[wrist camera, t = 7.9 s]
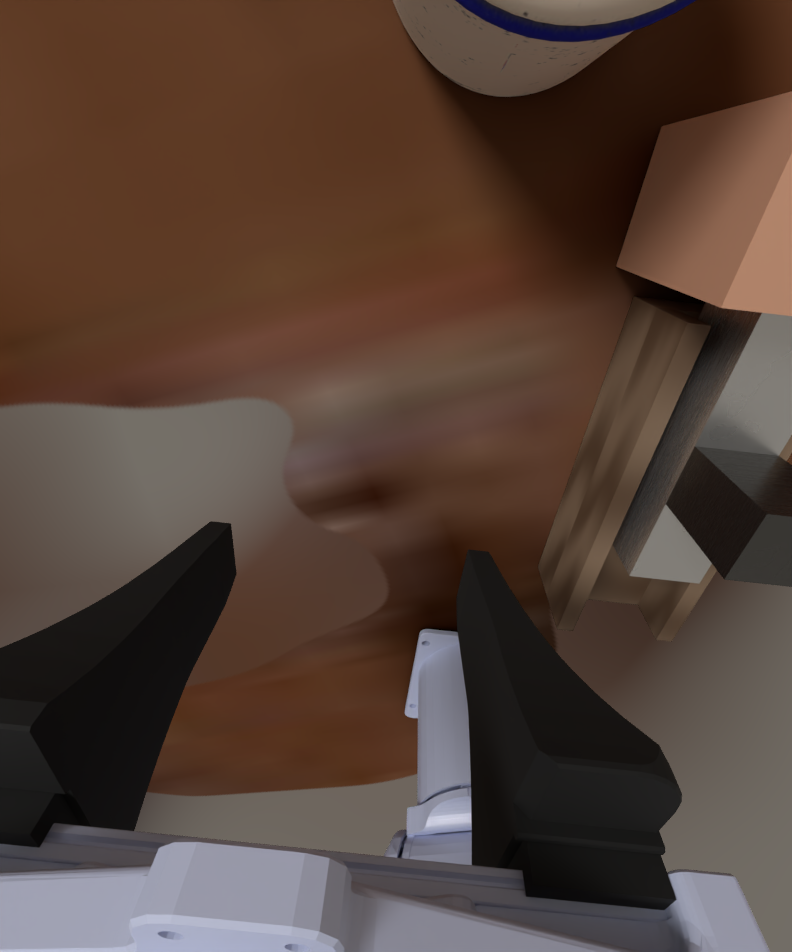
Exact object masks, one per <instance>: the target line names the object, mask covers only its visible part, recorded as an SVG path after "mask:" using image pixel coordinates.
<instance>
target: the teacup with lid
mask: <svg viewBox="0 0 792 952" xmlns="http://www.w3.org/2000/svg"><path fill="white" fill-rule="evenodd" d="M694 1H696V0H393V2H394V5H395V8H396V10H397V12H398V14H399V16H400V19H401V21H402V23H403V25H404V27H405V28H406V30H407V32H408V34H409V35H410V37H411V39H412V40H413V42H414V43H415V44H416V46H417V47H418V49H419V50H420V51H421V53H422V54H423V55H424V56H425V57H426V59H427V60H428V61H429V62H430V63H431V64H432V65H433V66H434V67H435V68H436V69H437V70H438V71H440V72H441V73H442V74H444V75H445V76H446V77H447V78H449V79H450V80H452V81H454V82H455V83H457V84H459V85H460V86H462V87H465V88H467V89H469V90H471V91H474V92H478V93H481V94H485V95H491V96H497V97H514V96H524V95H528V94H533V93H537V92H540V91H543V90H546V89H549V88H551V87H553V86H555V85H558V84H560V83H562V82H564V81H565V80H567V79H569V78H570V77H572V76H574V75H575V74H577V73H578V72H579V71H581V70H582V69H584V68H585V67H586V66H588V65H589V64H590V63H592V62H593V61H594V60H596V59H597V58H598V57H600V56H601V55H602V54H604V53H605V52H606V51H608V50H609V49H610V48H612V47H613V46H614V45H616V44H617V43H618V42H620V41H621V40H622V39H623V38H625V37H626V36H627V35H629V34H630V33H631V32H633V31H634V30H637V29H640V28H643V27H645V26H648V25H651V24H653V23H655V22H657V21H659V20H661V19H663V18H666V17H668V16H670V15H672V14H674V13H676V12H678V11H679V10H681V9H683V8H684V7H686V6H688V5H689V4H691V3H693V2H694Z"/></svg>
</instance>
